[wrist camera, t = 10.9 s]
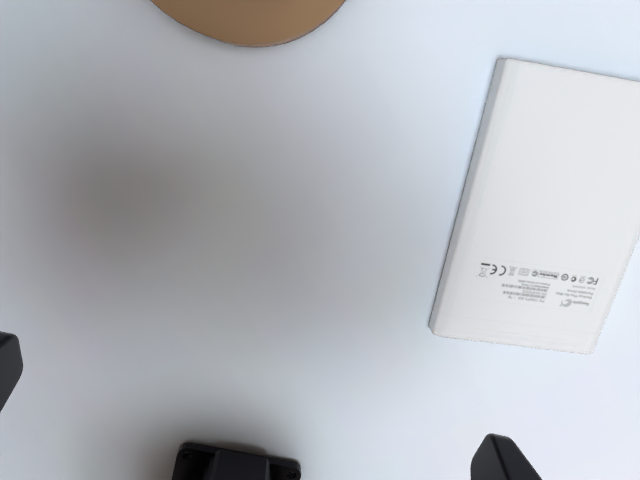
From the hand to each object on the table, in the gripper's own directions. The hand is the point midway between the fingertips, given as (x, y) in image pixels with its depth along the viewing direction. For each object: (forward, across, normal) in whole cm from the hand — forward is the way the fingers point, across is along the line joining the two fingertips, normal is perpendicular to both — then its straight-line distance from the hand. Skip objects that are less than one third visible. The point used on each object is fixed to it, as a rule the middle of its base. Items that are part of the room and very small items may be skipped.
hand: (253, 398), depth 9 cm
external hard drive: (+15, -11, +1) cm, 18 cm away
